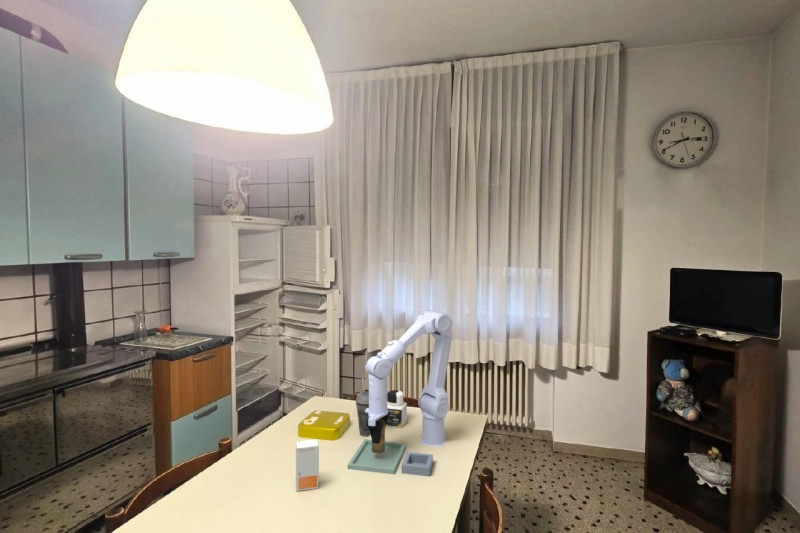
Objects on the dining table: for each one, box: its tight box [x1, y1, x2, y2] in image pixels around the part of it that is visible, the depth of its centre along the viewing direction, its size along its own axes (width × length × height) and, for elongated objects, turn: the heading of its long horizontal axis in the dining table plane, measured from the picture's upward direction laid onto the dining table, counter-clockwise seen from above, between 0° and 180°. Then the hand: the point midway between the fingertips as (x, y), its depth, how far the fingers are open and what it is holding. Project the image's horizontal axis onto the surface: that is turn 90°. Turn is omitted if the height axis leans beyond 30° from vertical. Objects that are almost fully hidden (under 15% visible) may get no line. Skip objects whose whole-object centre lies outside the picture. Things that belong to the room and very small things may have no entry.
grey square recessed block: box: [401, 451, 434, 477], centre depth 123 cm, size 8×8×3 cm
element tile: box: [297, 410, 351, 441], centre depth 150 cm, size 15×15×5 cm
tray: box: [347, 439, 407, 475], centre depth 129 cm, size 17×14×2 cm
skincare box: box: [295, 439, 320, 492], centre depth 114 cm, size 6×4×12 cm
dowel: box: [372, 419, 386, 453], centre depth 129 cm, size 4×4×9 cm
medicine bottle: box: [386, 389, 408, 429], centre depth 156 cm, size 7×7×12 cm
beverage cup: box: [355, 377, 371, 437], centre depth 147 cm, size 7×7×20 cm
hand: (378, 439), depth 129 cm, fingers closed on dowel, 4 cm apart
